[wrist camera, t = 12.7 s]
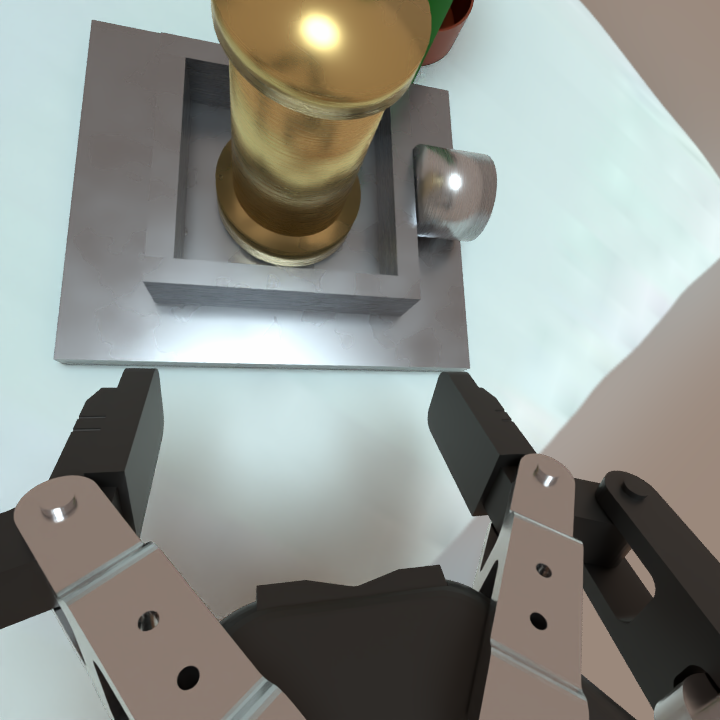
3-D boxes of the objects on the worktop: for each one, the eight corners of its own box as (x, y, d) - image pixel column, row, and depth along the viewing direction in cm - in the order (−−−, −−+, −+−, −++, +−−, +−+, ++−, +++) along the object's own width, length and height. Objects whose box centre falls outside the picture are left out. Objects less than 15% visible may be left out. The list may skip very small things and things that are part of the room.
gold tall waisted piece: (214, 260, 20) (188, 74, 10) (220, 134, 21) (202, -142, 11) (353, 272, 21) (448, 121, 12) (351, 154, 22) (434, -71, 13)
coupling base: (63, 364, 18) (0, 333, 13) (98, 38, 21) (57, -80, 16) (460, 371, 23) (518, 350, 18) (440, 103, 26) (485, 26, 21)
